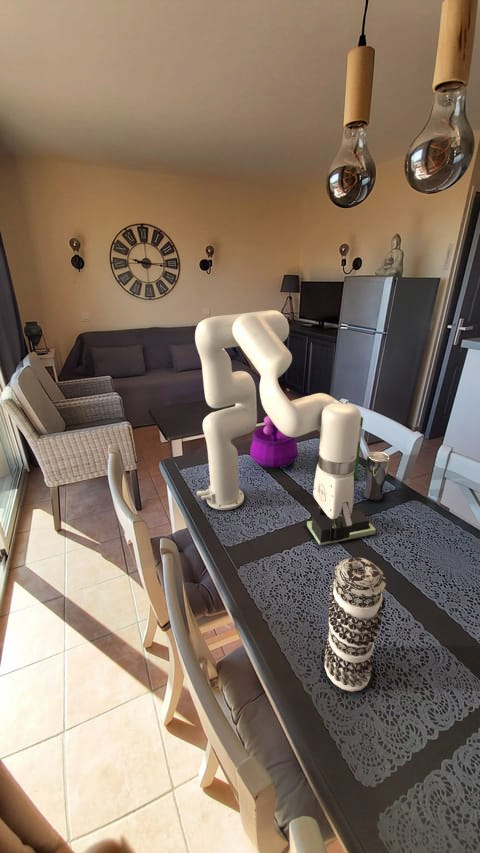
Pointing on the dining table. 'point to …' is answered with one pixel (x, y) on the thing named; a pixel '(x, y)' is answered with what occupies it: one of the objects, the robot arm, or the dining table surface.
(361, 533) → the tray
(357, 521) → the seated pad
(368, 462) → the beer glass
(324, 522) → the black rectangular block
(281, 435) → the decorative plant
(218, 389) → the robot arm
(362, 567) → the decorative candle
